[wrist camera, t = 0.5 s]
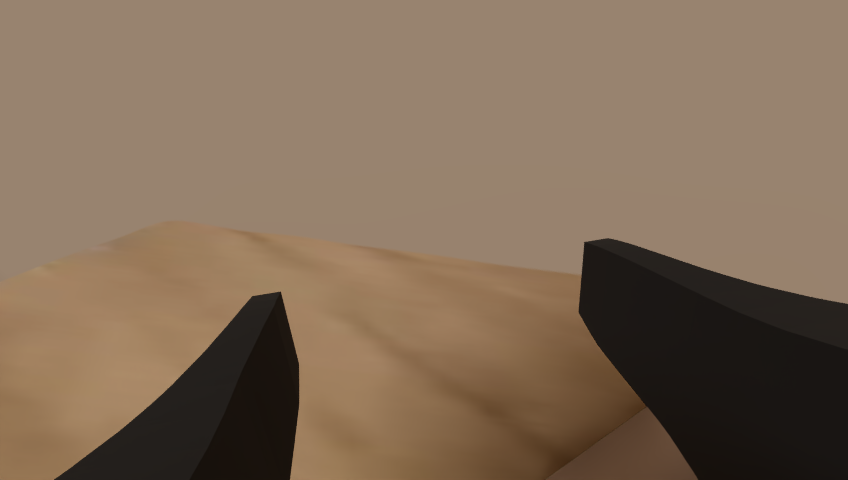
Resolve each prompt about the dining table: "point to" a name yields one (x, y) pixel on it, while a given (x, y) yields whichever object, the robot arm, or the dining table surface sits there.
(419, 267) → the dining table surface
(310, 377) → the dining table surface
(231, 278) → the dining table surface
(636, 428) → the walnut block
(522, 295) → the dining table surface
